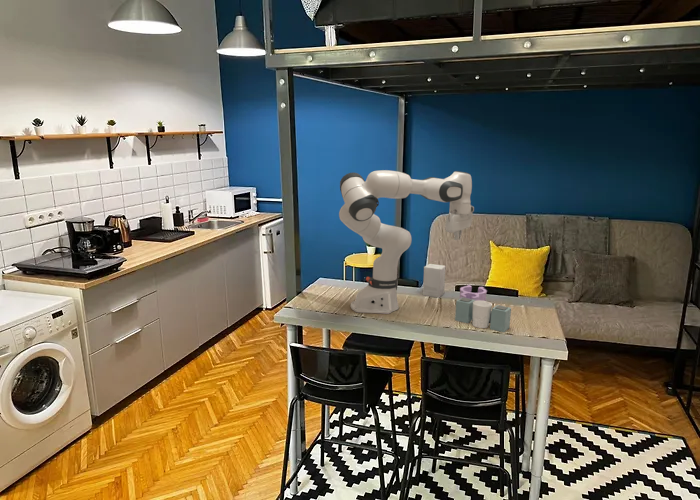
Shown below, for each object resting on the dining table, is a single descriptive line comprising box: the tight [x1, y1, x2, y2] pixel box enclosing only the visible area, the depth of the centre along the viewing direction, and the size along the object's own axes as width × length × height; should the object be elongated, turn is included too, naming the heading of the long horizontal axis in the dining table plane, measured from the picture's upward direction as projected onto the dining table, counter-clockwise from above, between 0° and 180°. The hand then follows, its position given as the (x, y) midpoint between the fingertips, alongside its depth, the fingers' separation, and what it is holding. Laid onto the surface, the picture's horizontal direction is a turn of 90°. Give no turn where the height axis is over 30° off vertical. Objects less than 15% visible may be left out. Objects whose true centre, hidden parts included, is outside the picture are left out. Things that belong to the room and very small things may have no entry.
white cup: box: [471, 300, 493, 329], centre depth 214 cm, size 8×8×10 cm
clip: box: [458, 284, 488, 301], centre depth 242 cm, size 20×12×7 cm, turn 157°
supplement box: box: [422, 263, 447, 298], centre depth 255 cm, size 9×9×15 cm
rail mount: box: [454, 297, 512, 333], centre depth 216 cm, size 8×22×9 cm, turn 53°
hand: (457, 239), depth 223 cm, fingers closed
